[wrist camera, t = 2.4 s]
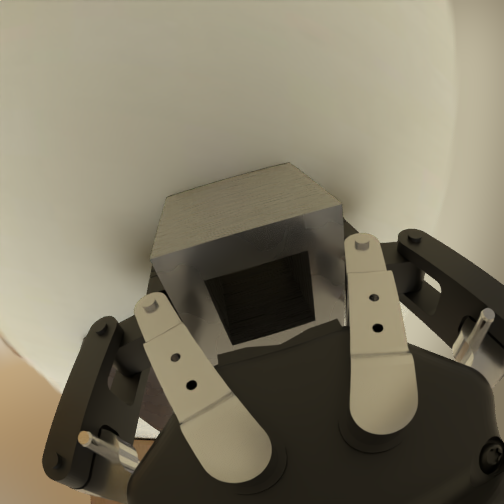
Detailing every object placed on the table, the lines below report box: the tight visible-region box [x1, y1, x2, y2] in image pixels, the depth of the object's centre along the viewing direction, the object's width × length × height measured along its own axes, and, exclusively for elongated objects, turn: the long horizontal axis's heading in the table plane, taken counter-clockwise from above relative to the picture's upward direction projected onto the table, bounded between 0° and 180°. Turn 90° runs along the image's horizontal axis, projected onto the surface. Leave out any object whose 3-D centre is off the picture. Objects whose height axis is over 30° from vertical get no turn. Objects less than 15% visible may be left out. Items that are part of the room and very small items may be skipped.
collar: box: [150, 163, 345, 366], centre depth 11 cm, size 6×6×5 cm
